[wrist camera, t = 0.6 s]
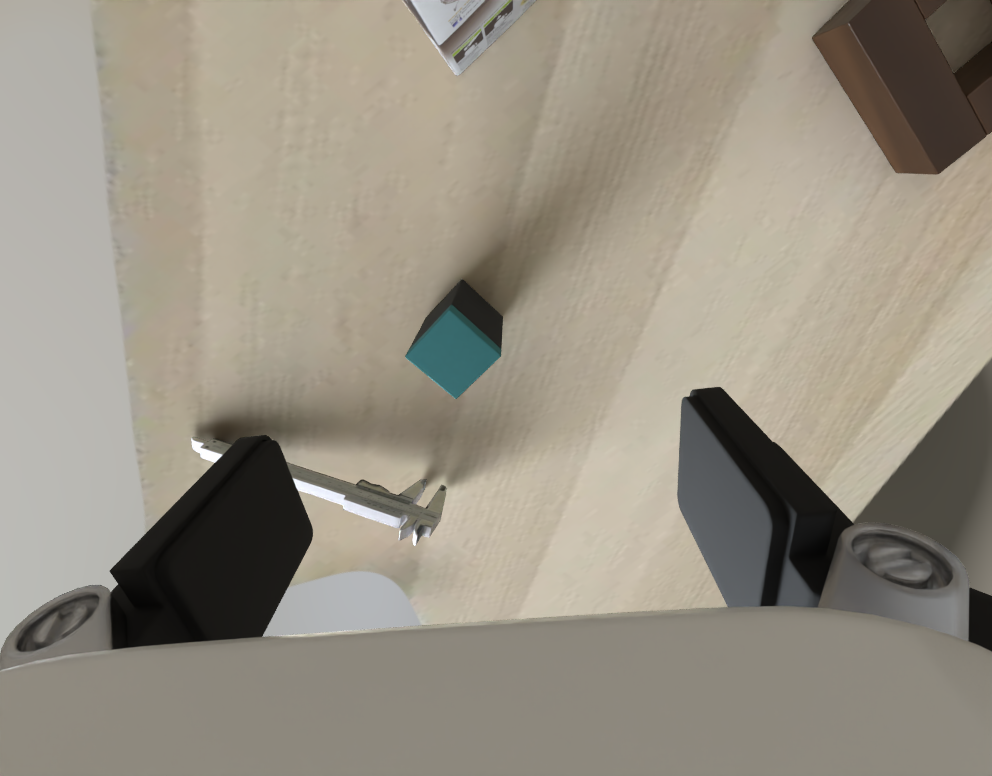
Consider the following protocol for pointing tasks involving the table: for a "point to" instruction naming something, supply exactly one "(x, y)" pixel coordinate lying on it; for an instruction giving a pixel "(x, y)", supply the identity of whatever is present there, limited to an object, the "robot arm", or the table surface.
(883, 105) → the mount block
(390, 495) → the caliper
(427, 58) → the table surface
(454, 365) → the block
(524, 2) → the coffee box
